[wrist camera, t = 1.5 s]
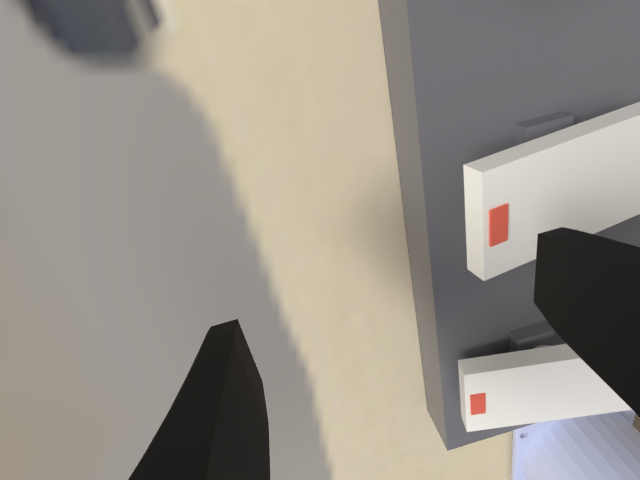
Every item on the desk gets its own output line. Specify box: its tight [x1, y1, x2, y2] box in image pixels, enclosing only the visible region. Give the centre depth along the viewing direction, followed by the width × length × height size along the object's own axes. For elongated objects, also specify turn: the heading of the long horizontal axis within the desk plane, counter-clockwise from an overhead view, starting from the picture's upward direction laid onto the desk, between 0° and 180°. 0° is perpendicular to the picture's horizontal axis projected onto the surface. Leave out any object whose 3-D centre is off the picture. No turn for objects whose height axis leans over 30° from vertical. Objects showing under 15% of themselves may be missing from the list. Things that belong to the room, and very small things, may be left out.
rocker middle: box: [463, 102, 640, 281], centre depth 13 cm, size 4×7×1 cm, turn 102°
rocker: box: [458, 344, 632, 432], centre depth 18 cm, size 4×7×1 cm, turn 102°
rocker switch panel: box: [378, 0, 640, 451], centre depth 15 cm, size 28×12×3 cm, turn 12°
